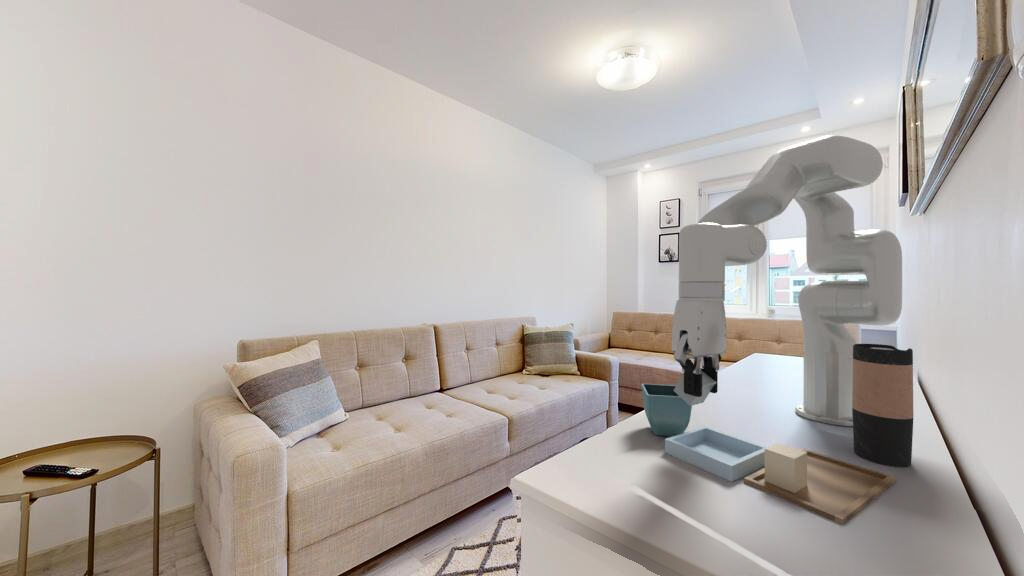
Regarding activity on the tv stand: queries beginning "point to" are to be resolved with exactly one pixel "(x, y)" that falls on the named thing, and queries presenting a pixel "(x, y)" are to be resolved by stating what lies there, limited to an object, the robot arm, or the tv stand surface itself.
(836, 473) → the walnut tray
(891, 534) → the tv stand surface
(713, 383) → the gray block
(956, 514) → the tv stand surface
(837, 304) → the robot arm
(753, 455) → the light blue tray
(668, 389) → the flower pot
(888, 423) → the travel mug
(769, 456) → the cream rectangular block
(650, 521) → the tv stand surface
